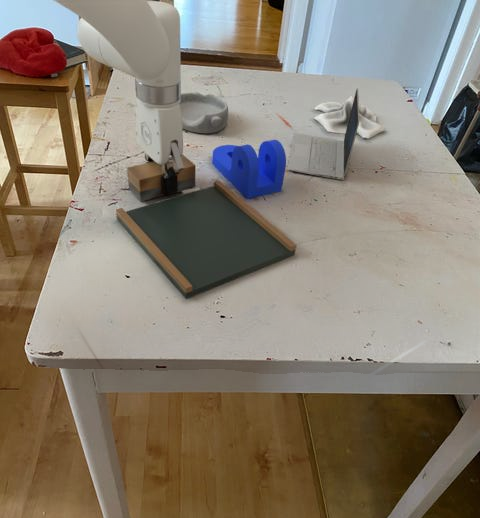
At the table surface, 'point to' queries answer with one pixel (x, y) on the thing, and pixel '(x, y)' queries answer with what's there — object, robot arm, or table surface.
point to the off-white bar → (189, 191)
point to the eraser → (157, 178)
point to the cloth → (347, 118)
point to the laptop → (325, 150)
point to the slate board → (205, 238)
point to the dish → (203, 112)
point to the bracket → (252, 167)
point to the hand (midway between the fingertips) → (162, 185)
